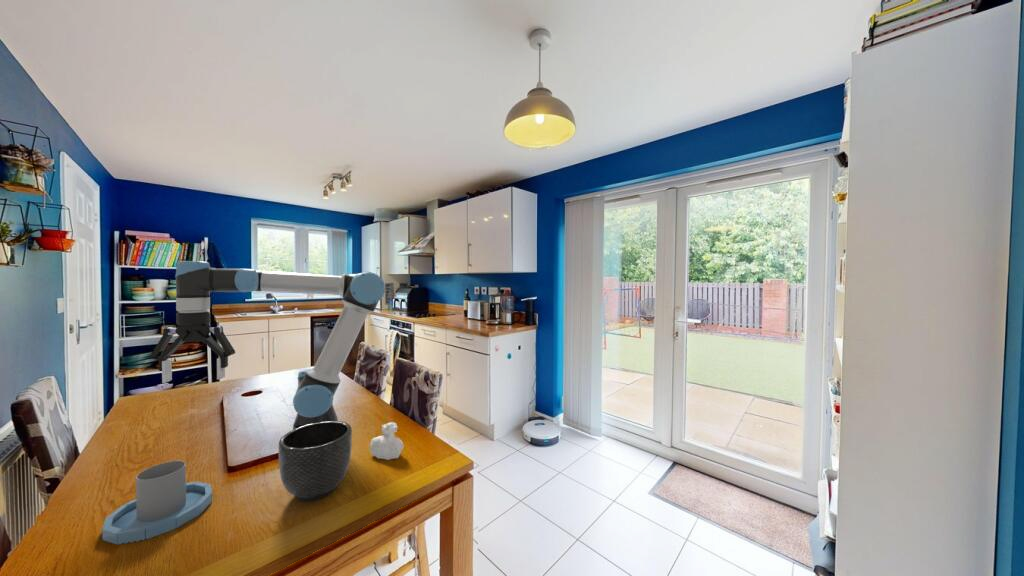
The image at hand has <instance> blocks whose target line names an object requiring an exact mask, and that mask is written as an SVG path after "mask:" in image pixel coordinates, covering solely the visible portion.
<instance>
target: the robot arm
mask: <svg viewBox="0 0 1024 576" xmlns="http://www.w3.org/2000/svg"><path fill="white" fill-rule="evenodd" d="M174 277H175V291H176V292H175V293H176V294H175V295H176V296H175V297H176V298H175V299H176V301H175V305H176V306H175V309H176V310H175V311H176V312H177V313H176V314H175V315H176V320H175V321H176V322H175V323H176V325H177V327H176V328H175V327H173V326H170V327H165V328H163V330H162V336H161V338H160V339H159V341H158V342H157V344H156V345H155V347H154V349H153V351H152V352H151V354H150V355H149V359H150V360H156V361H158V372H161V380H162V381H161V383H162V384H165V383H168V382H170V381H173V370H172V369H173V368H172V366H173V365H172V362H173V361H172V358H170V357H171V356H172V355H173V354H174V353H175V352H176V351H177V350H178V349H179V348H180V347H181V346H182V345H183V344H184V343H191V342H195V343H198V342H202V343H203V344H205V345H207V346H206V347H208V348H209V349H211V351H212V352H213V353H215V354H216V355H217V356H218V358H216V380H222V379H224V378H225V377H226V368H228V367H229V356H233V355H234V354H236V350H235V348H234V347H233V346H232V343H231V342H230V340H229V339H228V338H227V335H226V334H225V333H224V327H223V325H217V326H215V327H212V326H211V312H210V311H209V310H210V309H211V293H217V292H218V293H221V292H222V293H248V292H249V293H250V292H253V293H254V292H267V293H268V292H269V293H271V292H272V293H286V294H287V293H289V294H290V293H291V294H293V293H294V294H313V295H333V296H340V297H341V298H342V304H343V308H342V310H341V312H340V314H339V316H338V318H337V320H336V322H335V324H334V326H333V328H332V330H331V332H330V334H329V336H328V338H327V341H326V342H325V345H324V347H323V348H322V350H321V353H319V354H320V355H319V357H318V358H317V360H316V363H315V365H314V366H313V368H309V369H303V370H300V371H299V372H298V373H297V389H296V392H295V394H294V396H293V398H292V399H293V400H292V404H293V409H294V411H295V412H296V416H295V419H294V422H293V424H292V430H294V429H296V428H299V427H301V426H304V425H308V424H312V423H316V422H323V421H339V419H338V418H339V417H338V415H337V412H336V410H335V407H334V404H333V403H334V402H333V401H334V396H335V394H336V392H337V390H338V388H339V385H340V384H341V378H340V376H339V375H340V373H341V371H342V369H343V367H344V365H345V363H346V361H347V359H348V356H349V355H350V352H351V350H352V348H353V346H354V344H355V342H356V340H357V338H358V336H359V333H360V331H361V330H362V327H363V326H364V323H365V322H366V319H367V318H368V316H369V314H372V313H375V310H376V308H377V306H378V303H379V301H381V300H382V298H383V297H384V295H385V293H386V285H385V282H384V280H383V278H382V277H380V276H379V275H378V274H377V273H374V272H371V271H363V272H359V273H342V274H341V275H329V274H315V273H314V274H313V273H300V272H299V273H298V272H287V271H286V272H285V271H284V272H282V271H272V270H271V271H269V270H267V271H266V270H256V269H253V268H216V267H212V266H211V265H210V263H209V262H208V261H196V260H195V261H194V260H182V261H179V262H177V263H176V270H175V275H174ZM210 333H212V334H213V335H214V336H215V338H216V339H217V341H218V343H217V341H216V340H214V338H213V336H211V334H210ZM175 334H176V335H178V337H177V338H176V339H175V340H173V342H172V344H170V345H169V343H170V341H171V339H172V338H173V336H174V335H175ZM168 345H169V346H168ZM167 346H168V347H167ZM166 348H167V349H166Z"/></svg>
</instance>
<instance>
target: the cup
mask: <svg viewBox="0 0 1024 576" xmlns="http://www.w3.org/2000/svg"><path fill="white" fill-rule="evenodd" d="M186 483H187V463H186V461H183V460H172V461H165V462H162V463H158V464H155V465H153V466H150V467H148V468H146V469H144V470H142V471H141V472H139V473H137V474H136V477H135V496H136V497H135V499H136V516H137V520H138V521H139V522H151V521H156V520H160V519H162V518H165V517H167V516H170V515H172V514H174V513H175V512H177V511H179V510H180V509H181V508H183V507H184V506H185V505H186Z"/></svg>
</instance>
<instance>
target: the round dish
mask: <svg viewBox="0 0 1024 576" xmlns="http://www.w3.org/2000/svg"><path fill="white" fill-rule="evenodd" d="M212 502H213V490H212V485H211V483H206V482H203V481H202V482H201V481H191V482H186V505H185V506H184V507H183V508H181V509H180V510H179V511H177V512H175V513H174V514H172V515H170V516H167V517H165V518H162V519H160V520H156V521H151V522H139V521H138V520H137V516H136V498H134V499H133V500H130V501H129V502H126V503H125V504H122V505H120V506H119V508H117V509H115V510H114V511H113V512H112V513H110V514H109V515H107V517H105V519H104V522H103V526H102V531H101V533H102V536H101V537H102V541H104V542H107V543H111V544H114V545H122V543H124V544H129V543H128V542H130V543H135V542H134V541H136V542H140V540H142V541H146V540H145V539H147V540H149V539H151V538H153V537H157V536H160V535H162V534H165V533H168V532H171V531H173V530H177V528H179V527H181V526H183V525H185V524H186V523H188V522H190V521H191V520H193V519H195V518H197V517H198V516H200V515H202V513H203V512H205V510H206V509H207V508H208V507H209V506H210V504H212Z"/></svg>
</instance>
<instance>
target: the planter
mask: <svg viewBox="0 0 1024 576" xmlns="http://www.w3.org/2000/svg"><path fill="white" fill-rule="evenodd" d="M352 438H353V430H352V426H351V425H350V424H349V423H347V422H346V421H339V420H338V421H323V422H316V423H312V424H308V425H304V426H301V427H299V428H296V429H294V430H293V429H292V430H290V431H288V432H287V433H285V434H284V435H283V436H281V438H280V439H279V441H278V466H279V467H278V468H279V473H280V479H281V483H282V485H283V487H284V489H285V490H286V492H288V493H289V494H290V495H292V496H294V497H296V498H297V499H298V500H300V501H301V502H307V503H308V502H315V501H319V500H321V499H324V498H326V497H328V496H330V494H332V493H333V492H334V491H335V489H336V487H337V486H338V485H339V484H340V483H341V482H342V481H343V479H344V478H345V476H346V475H347V472H348V469H349V467H350V462H351V457H352V456H351V454H352V447H353V446H352V444H353V443H352V442H353V439H352Z"/></svg>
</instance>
